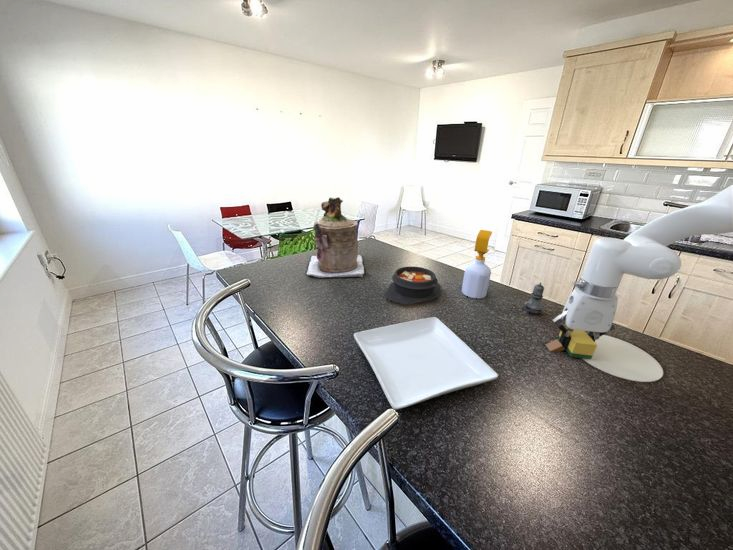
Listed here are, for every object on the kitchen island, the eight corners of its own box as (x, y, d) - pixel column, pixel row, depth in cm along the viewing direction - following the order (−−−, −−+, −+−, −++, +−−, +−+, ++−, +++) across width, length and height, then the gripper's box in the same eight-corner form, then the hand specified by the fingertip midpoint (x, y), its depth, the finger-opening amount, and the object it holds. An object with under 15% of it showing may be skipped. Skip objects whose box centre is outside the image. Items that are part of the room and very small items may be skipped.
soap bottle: (488, 292, 114) (501, 230, 104) (483, 301, 107) (496, 236, 97) (465, 286, 119) (475, 226, 109) (458, 295, 112) (469, 232, 102)
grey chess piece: (530, 320, 96) (540, 287, 92) (517, 311, 102) (526, 279, 97) (545, 317, 98) (555, 285, 93) (531, 308, 103) (540, 277, 98)
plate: (628, 340, 87) (630, 336, 87) (683, 390, 69) (685, 386, 69) (556, 332, 90) (557, 329, 90) (590, 379, 72) (592, 375, 72)
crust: (559, 342, 82) (557, 339, 82) (564, 349, 79) (562, 345, 79) (547, 348, 83) (544, 344, 83) (552, 355, 80) (549, 351, 80)
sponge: (576, 340, 84) (581, 327, 82) (591, 359, 77) (597, 345, 75) (557, 338, 84) (562, 325, 83) (570, 356, 77) (576, 342, 75)
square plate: (351, 343, 83) (351, 331, 82) (434, 325, 92) (436, 315, 91) (392, 421, 60) (394, 407, 58) (498, 387, 69) (501, 374, 68)
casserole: (415, 315, 97) (417, 293, 94) (373, 296, 109) (373, 276, 105) (451, 291, 114) (454, 271, 111) (411, 277, 126) (413, 258, 122)
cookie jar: (362, 258, 146) (363, 191, 133) (365, 278, 123) (366, 201, 110) (311, 258, 144) (308, 191, 131) (305, 279, 122) (300, 200, 109)
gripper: (566, 291, 71) (546, 352, 78) (645, 298, 68) (616, 360, 76) (553, 278, 77) (536, 335, 85) (625, 284, 75) (600, 342, 83)
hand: (574, 346), depth 80 cm, fingers closed on sponge, 5 cm apart
